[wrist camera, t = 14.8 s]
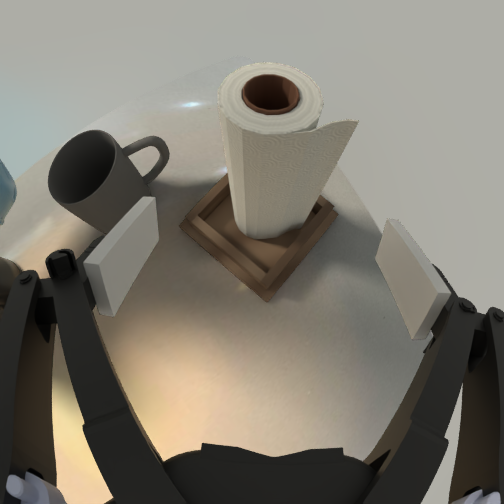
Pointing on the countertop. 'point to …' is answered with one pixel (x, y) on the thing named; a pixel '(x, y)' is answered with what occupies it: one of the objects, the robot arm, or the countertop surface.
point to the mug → (101, 177)
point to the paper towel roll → (276, 146)
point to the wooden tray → (253, 240)
